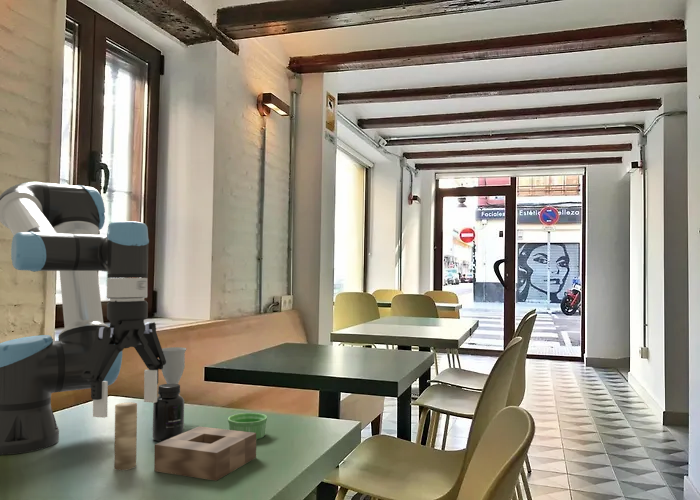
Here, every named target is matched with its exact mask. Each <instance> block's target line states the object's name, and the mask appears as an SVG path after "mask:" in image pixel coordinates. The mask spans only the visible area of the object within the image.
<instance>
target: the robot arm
mask: <svg viewBox="0 0 700 500" xmlns="http://www.w3.org/2000/svg"><path fill="white" fill-rule="evenodd" d="M105 213H106V207H105V203H104V199H103V197H102V194H101V193H100V192H99V191H98V189H96V188H95V187H92V186H85V185H81V184H76V185H73V184H63V183H51V182H41V181H25V182H22V183H21V182H20V183H18V184H15V185H13V186H10V187H9V188H7V189H5V190H4V191H3V192H2V193H1V194H0V223H1V225H3V226H4V227H5V228H6V229H9V230H10V232H11V234H12V236H13V237H12V240H11V249H10V253H11V255H10V256H11V258H10V259H11V263H12V266H13V268H14V269H16V270H17V271H29V272H59V278H60V279H59V280H60V281H59V282H60V289H61V290H60V292H61V303H62V314H63V324H64V325H63V326H64V328H63V329H62V330H61V331H60V332H59V333H58V337H57V338H58V340H54V339H53V337H52V335H49V334H41V335H32V336H24V337H18V338H15V339H10V340H9V339H8V340H5V341H3V342H0V456H1V455H14V454H15V455H17V454H23V453H29V452H34V451H39V450H43V449H46V448H49V447H51V446H53V445H56V443H58V442H59V440H60V429H59V426H58V424H57V421H56V418H55V415H54V412H53V408H52V405H51V404H52V402H51V401H52V394H54V393H61V392H62V393H63V392H70V391H72V392H73V391H79V390H88V389H90V396H91V397H90V398H91V400H92V418H103V419H105V418H108V403H109V402H108V397H109V396H108V391H109V390H108V389H109V387H108V386H111V385H113V384H114V383H115V382H116V381H117V380H118V376H119V374H120V371H121V369H122V361H123V351H124V349H129V348H134V349H135V350H136V353H137V354H138V355H139V357H140V358H141V360H142V361H143V363H144V365H145V366H146V368H147V369H144V370H143V371H144V374H143V376H144V377H143V382H144V383H143V386H144V387H143V389H144V390H143V397H144V398H143V402H144V403H155V402H157V397H158V386H159V385H158V384H159V371H160V370H161V369H163V365H165V364H166V359H165V356H164V353H163V351H162V345H161V342H160V338H159V337H158V333H157V324H156V322H155V321H154V322H153V321H145V320H146V319H147V318H148V317H149V316H148V313H149V310H148V309H149V303H148V302H147V300H145V298H146V299H147V298H148V278H149V275H148V273H149V272H148V270H149V243H150V239H149V231H148V229H149V228H148V226H147V224H146V223H144V222H140V221H129V220H128V221H125V220H122V221H112V222H110V223H109V224H108V227H107V232H106V233H107V234H99V233H100V232H99V231H100V230H102V229H103V227H104V225H105V219H106V216H105ZM100 271H101V272H105V273H106V272H107V275H106V276H107V278H106V281H107V283H106V298H107V299H109V301H108V302H107V303H106V318H107V319H106V320H107V321H109V323H110V325H108V324H106V323H104V316H103V309H102V308H103V307H102V301H101V299H102V298H101V293H100V291H101V290H100V282H99V281H100V280H99V274H98V272H100Z"/></svg>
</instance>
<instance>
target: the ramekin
mask: <svg viewBox="0 0 700 500" xmlns="http://www.w3.org/2000/svg"><path fill="white" fill-rule="evenodd" d="M267 420H268V416H267V415H266V414H263V413H258V412H244V413H241V412H240V413H236V414H233V415H230V416H228V418H227V422H228V430H235V431H243V432H252V433H256V441H257V440H260V439H262V438H263V437H264V436H265V435H266V424H267Z"/></svg>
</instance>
